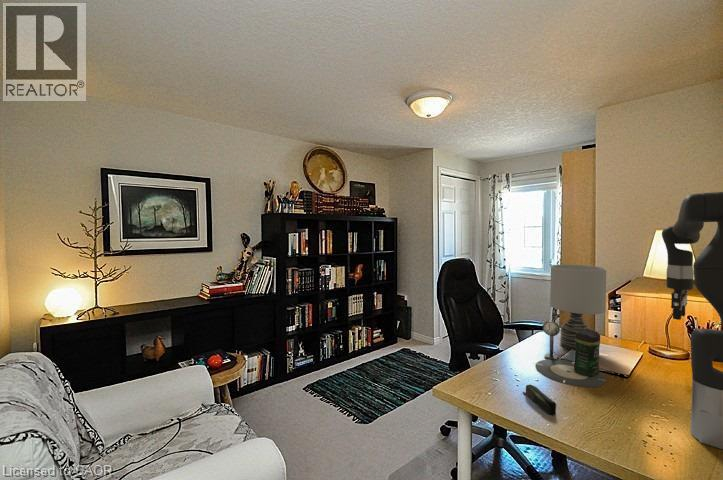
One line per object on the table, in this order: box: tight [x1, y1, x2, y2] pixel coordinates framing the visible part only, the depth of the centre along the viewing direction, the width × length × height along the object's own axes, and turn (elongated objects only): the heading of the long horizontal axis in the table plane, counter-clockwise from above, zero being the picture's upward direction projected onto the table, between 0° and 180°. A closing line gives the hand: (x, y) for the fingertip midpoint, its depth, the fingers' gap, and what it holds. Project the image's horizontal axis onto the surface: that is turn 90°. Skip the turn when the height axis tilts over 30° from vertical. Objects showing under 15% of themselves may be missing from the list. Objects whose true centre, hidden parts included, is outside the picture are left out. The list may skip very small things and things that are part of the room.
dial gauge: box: [542, 320, 561, 360], centre depth 154 cm, size 5×7×18 cm
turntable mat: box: [534, 359, 607, 388], centre depth 140 cm, size 26×26×1 cm
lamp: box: [549, 264, 607, 352], centre depth 167 cm, size 24×24×42 cm
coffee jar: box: [574, 329, 601, 377], centre depth 138 cm, size 10×8×19 cm
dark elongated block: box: [522, 384, 557, 416], centre depth 115 cm, size 5×3×15 cm
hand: (679, 317), depth 125 cm, fingers open, 8 cm apart
